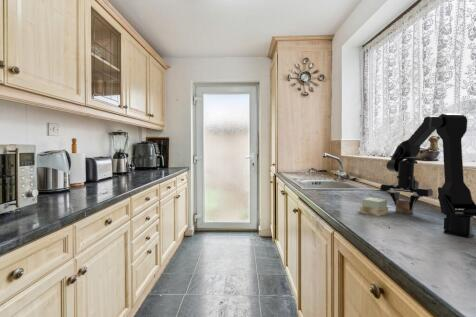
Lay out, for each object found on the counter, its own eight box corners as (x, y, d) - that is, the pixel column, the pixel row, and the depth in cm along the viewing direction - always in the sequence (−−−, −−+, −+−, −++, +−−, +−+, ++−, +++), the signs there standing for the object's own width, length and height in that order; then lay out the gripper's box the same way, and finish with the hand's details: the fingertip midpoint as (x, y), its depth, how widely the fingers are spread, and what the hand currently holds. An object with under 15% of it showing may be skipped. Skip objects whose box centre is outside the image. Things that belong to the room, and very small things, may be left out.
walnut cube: (413, 212, 117) (413, 200, 116) (408, 214, 114) (408, 202, 113) (400, 210, 121) (401, 199, 120) (395, 211, 118) (395, 200, 117)
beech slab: (387, 214, 115) (388, 207, 115) (378, 216, 110) (378, 209, 110) (369, 210, 121) (369, 203, 121) (359, 212, 116) (359, 205, 116)
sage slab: (386, 207, 114) (387, 200, 114) (378, 209, 110) (378, 201, 110) (370, 204, 120) (370, 197, 120) (361, 205, 116) (362, 199, 116)
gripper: (438, 174, 114) (436, 211, 115) (391, 171, 129) (390, 203, 129) (428, 176, 107) (426, 215, 108) (380, 172, 122) (378, 206, 123)
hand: (404, 209), depth 117 cm, fingers closed on walnut cube, 5 cm apart
